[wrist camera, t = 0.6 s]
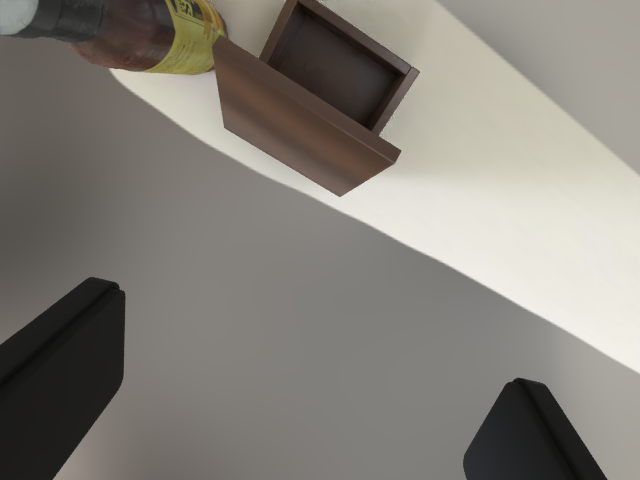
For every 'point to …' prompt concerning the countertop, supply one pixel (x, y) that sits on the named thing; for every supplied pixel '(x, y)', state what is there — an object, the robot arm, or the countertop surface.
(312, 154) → the hatch
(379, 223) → the countertop surface
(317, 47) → the walnut box
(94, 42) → the sauce bottle
